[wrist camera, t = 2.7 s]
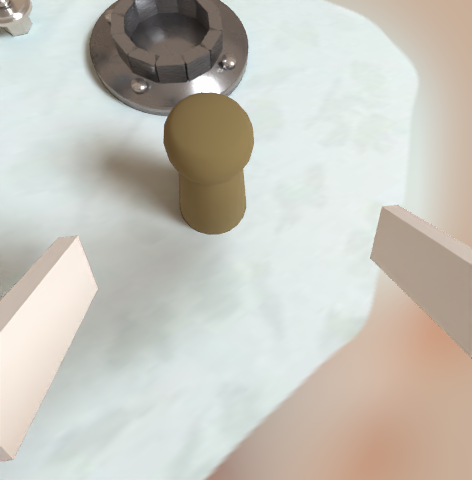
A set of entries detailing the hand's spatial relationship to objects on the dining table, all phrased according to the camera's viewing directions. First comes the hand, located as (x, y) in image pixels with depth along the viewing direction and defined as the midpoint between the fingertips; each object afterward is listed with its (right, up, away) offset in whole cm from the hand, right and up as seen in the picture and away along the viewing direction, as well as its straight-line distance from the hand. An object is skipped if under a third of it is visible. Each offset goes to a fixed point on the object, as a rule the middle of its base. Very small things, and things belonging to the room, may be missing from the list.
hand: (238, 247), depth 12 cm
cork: (-2, +4, +13) cm, 14 cm away
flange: (-7, +20, +17) cm, 27 cm away
